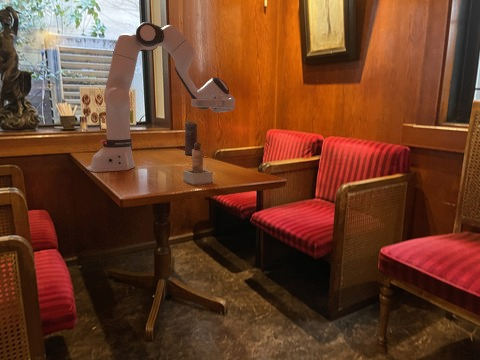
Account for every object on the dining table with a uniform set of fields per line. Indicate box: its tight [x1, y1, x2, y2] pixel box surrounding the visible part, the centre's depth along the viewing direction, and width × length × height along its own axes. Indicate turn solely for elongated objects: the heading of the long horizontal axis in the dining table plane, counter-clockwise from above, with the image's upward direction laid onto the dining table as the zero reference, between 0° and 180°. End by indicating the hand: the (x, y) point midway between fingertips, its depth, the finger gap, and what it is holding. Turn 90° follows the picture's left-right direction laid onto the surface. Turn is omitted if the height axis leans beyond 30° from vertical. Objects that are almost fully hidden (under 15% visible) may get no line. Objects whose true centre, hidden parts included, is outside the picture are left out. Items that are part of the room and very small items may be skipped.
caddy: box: [182, 168, 214, 186], centre depth 154 cm, size 9×9×4 cm
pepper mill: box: [191, 141, 204, 174], centre depth 153 cm, size 4×4×16 cm
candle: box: [184, 121, 198, 156], centre depth 226 cm, size 8×7×20 cm
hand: (205, 103), depth 166 cm, fingers open, 8 cm apart
